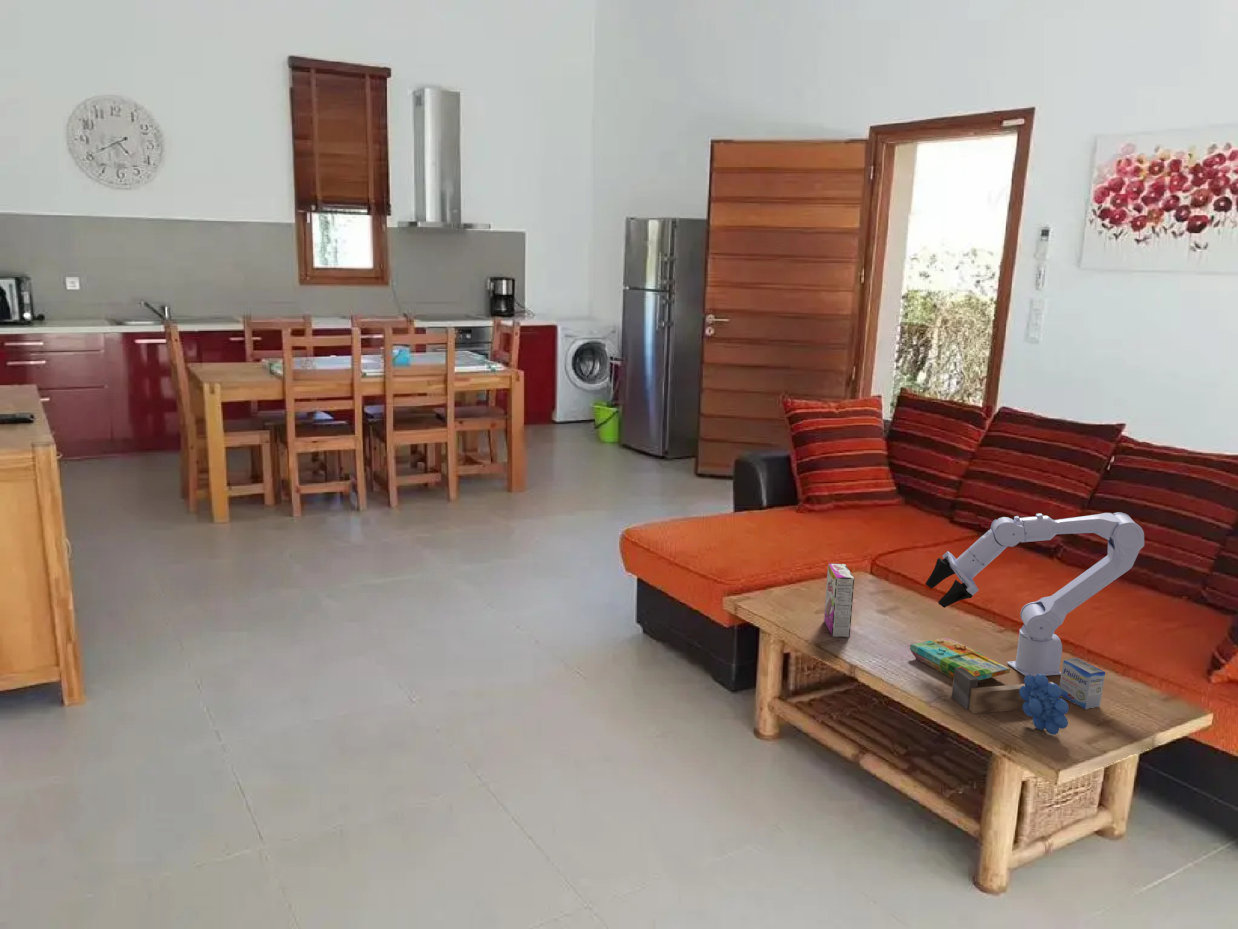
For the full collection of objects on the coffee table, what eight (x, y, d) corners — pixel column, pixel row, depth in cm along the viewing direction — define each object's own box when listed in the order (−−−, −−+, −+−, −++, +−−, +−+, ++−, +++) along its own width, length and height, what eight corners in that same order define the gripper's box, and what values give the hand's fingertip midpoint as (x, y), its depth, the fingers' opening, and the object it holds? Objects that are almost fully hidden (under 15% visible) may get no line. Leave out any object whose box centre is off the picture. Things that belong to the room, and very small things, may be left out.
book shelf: (1031, 690, 220) (1035, 662, 219) (1054, 706, 213) (1058, 677, 211) (951, 697, 216) (954, 668, 214) (971, 714, 208) (975, 684, 206)
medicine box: (1057, 695, 219) (1062, 659, 217) (1072, 692, 220) (1077, 656, 218) (1085, 710, 211) (1090, 673, 209) (1100, 707, 213) (1106, 671, 211)
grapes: (1002, 722, 205) (1009, 669, 202) (1023, 715, 208) (1030, 663, 206) (1050, 746, 195) (1058, 692, 192) (1072, 739, 198) (1079, 685, 196)
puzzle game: (946, 633, 240) (1010, 665, 223) (944, 651, 241) (1008, 684, 224) (910, 641, 235) (973, 673, 218) (908, 658, 236) (971, 693, 219)
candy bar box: (822, 621, 258) (827, 562, 254) (841, 621, 258) (846, 563, 254) (830, 637, 247) (835, 577, 244) (850, 638, 247) (855, 577, 244)
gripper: (953, 532, 233) (912, 570, 238) (980, 567, 221) (936, 606, 225) (971, 546, 236) (930, 583, 240) (998, 581, 224) (955, 620, 228)
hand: (934, 595), depth 233 cm, fingers open, 7 cm apart
